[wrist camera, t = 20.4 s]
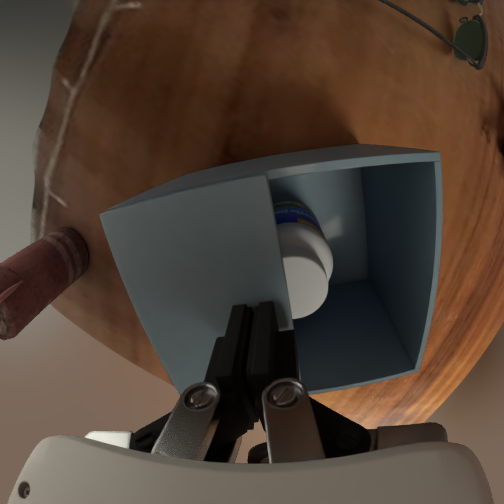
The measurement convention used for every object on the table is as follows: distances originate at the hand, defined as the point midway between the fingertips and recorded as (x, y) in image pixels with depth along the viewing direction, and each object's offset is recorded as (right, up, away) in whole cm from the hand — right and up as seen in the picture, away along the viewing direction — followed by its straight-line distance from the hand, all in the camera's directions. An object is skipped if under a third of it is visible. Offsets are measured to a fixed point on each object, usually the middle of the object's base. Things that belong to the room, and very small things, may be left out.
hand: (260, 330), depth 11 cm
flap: (-2, 0, +1) cm, 2 cm away
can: (-21, +4, +16) cm, 26 cm away
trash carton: (+3, +5, +12) cm, 14 cm away
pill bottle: (+3, +5, +12) cm, 13 cm away
